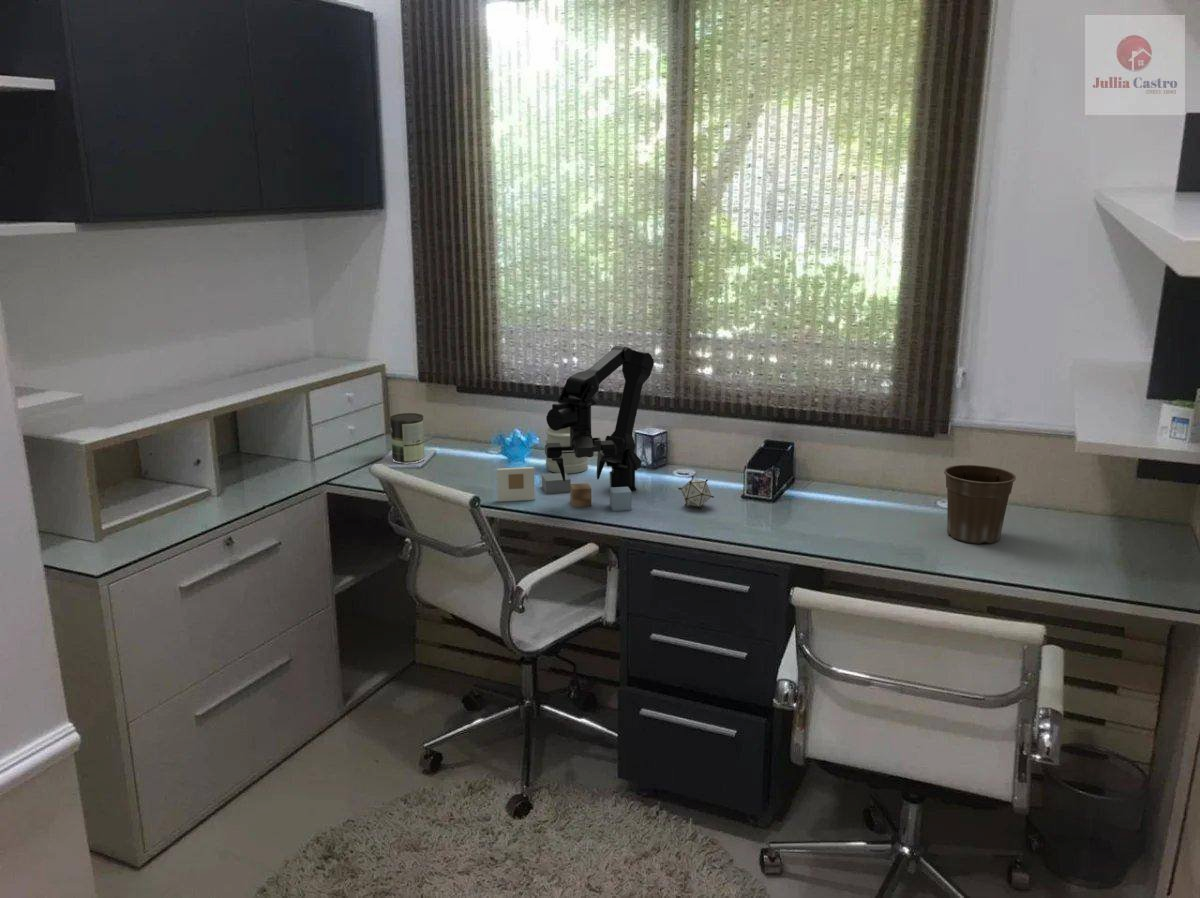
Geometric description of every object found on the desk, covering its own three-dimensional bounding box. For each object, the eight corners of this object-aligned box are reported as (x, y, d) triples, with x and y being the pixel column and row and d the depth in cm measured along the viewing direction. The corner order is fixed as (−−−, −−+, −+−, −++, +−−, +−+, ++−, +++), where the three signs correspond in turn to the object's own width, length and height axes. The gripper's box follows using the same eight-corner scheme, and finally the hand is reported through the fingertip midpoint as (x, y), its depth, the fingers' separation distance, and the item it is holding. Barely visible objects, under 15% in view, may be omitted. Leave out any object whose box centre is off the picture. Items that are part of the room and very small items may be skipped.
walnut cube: (588, 500, 265) (588, 483, 264) (591, 506, 260) (591, 488, 259) (570, 501, 264) (570, 484, 263) (572, 507, 259) (572, 489, 258)
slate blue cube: (627, 504, 262) (627, 486, 260) (631, 510, 257) (631, 492, 256) (609, 505, 261) (609, 487, 260) (612, 511, 256) (613, 493, 255)
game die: (702, 519, 261) (726, 492, 257) (684, 515, 254) (708, 488, 251) (684, 496, 266) (707, 470, 262) (666, 492, 259) (689, 465, 256)
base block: (565, 486, 279) (565, 472, 278) (570, 493, 272) (570, 479, 271) (542, 487, 277) (541, 474, 276) (546, 494, 271) (545, 481, 270)
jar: (538, 471, 292) (537, 414, 288) (556, 461, 304) (556, 406, 299) (578, 476, 287) (577, 418, 283) (595, 465, 299) (594, 409, 294)
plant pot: (945, 521, 248) (951, 460, 243) (1013, 532, 240) (1020, 469, 236) (931, 540, 234) (937, 476, 230) (1003, 552, 226) (1010, 486, 222)
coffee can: (387, 464, 301) (385, 419, 297) (397, 455, 311) (395, 412, 307) (420, 464, 300) (418, 420, 296) (429, 456, 310) (427, 413, 306)
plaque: (534, 498, 266) (533, 467, 264) (534, 500, 265) (534, 468, 263) (497, 500, 265) (496, 468, 262) (498, 501, 263) (497, 470, 261)
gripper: (548, 432, 247) (549, 490, 251) (620, 429, 250) (620, 486, 254) (544, 422, 258) (545, 478, 262) (613, 419, 261) (613, 475, 265)
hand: (580, 479), depth 260 cm, fingers open, 9 cm apart
